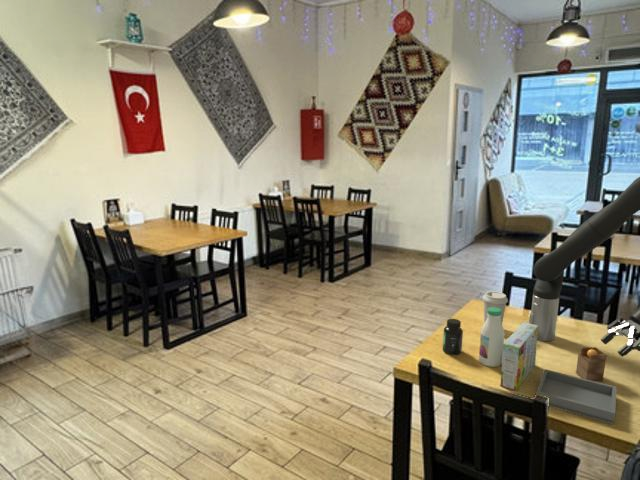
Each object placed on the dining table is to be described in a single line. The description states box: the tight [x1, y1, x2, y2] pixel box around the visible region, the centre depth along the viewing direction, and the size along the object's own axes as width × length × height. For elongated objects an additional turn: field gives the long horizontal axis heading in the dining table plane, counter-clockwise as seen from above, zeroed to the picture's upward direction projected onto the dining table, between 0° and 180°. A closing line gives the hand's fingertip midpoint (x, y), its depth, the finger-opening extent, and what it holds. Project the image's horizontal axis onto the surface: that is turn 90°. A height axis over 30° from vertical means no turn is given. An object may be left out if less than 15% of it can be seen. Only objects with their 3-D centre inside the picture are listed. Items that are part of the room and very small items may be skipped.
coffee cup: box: [482, 291, 509, 324], centre depth 187 cm, size 10×10×15 cm
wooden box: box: [575, 346, 607, 383], centre depth 151 cm, size 6×6×10 cm
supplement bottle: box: [442, 318, 464, 356], centre depth 169 cm, size 7×7×12 cm
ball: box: [587, 349, 598, 358], centre depth 150 cm, size 3×3×3 cm
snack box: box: [500, 322, 538, 391], centre depth 152 cm, size 21×6×15 cm, turn 141°
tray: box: [535, 368, 618, 425], centre depth 139 cm, size 20×16×4 cm
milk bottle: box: [478, 307, 505, 368], centre depth 160 cm, size 8×8×20 cm
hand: (611, 348), depth 150 cm, fingers open, 8 cm apart
